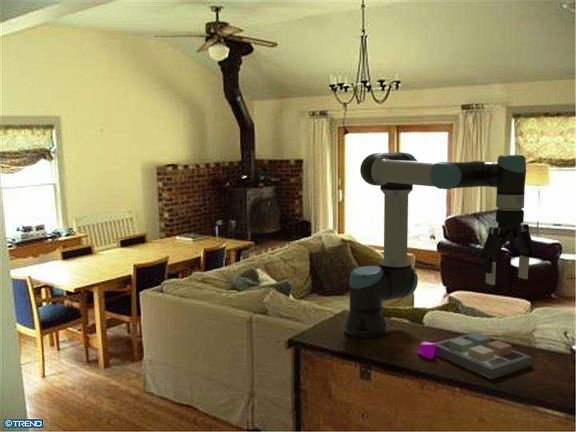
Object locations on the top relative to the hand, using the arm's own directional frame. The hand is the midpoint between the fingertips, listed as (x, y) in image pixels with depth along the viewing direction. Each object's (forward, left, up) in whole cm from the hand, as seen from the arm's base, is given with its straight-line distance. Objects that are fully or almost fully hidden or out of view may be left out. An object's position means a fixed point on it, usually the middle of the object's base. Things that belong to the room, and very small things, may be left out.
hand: (506, 281), depth 159 cm
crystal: (-21, -10, -28) cm, 37 cm away
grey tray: (-10, +2, -28) cm, 30 cm away
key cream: (-6, -2, -25) cm, 26 cm away
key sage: (-14, -2, -25) cm, 29 cm away
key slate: (-14, +6, -25) cm, 29 cm away
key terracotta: (-6, +6, -25) cm, 26 cm away
